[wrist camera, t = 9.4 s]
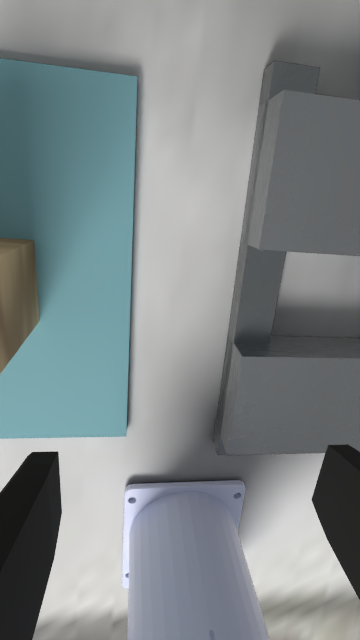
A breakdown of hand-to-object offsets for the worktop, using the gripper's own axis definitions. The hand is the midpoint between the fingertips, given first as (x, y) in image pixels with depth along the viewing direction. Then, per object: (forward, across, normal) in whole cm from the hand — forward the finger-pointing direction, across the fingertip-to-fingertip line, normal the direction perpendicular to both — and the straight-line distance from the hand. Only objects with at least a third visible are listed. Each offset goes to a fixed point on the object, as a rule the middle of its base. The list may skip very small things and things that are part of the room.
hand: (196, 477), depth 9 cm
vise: (+10, -11, -2) cm, 15 cm away
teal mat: (+10, +8, -2) cm, 14 cm away
